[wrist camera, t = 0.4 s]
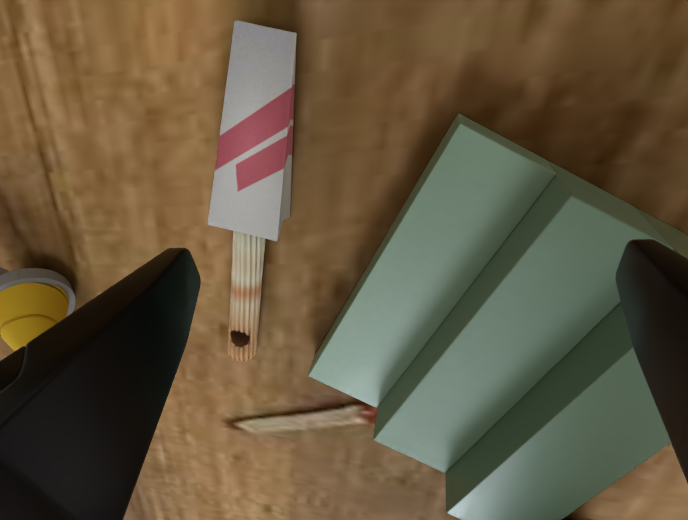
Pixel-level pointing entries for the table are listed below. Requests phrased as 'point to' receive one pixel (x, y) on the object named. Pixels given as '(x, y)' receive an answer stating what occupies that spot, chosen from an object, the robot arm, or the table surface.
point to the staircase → (502, 332)
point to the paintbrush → (254, 166)
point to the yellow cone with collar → (32, 303)
